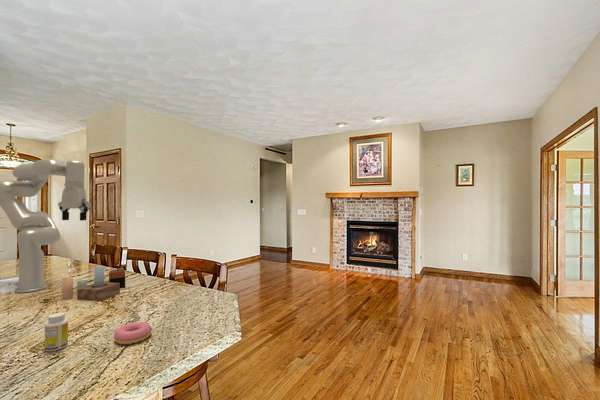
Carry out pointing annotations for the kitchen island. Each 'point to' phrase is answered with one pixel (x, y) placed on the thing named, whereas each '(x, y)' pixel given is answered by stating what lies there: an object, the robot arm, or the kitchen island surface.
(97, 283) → the tall dowel
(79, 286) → the short dowel
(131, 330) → the doughnut
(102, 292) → the hole block
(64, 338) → the supplement bottle
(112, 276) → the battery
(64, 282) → the medium dowel
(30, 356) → the kitchen island surface
